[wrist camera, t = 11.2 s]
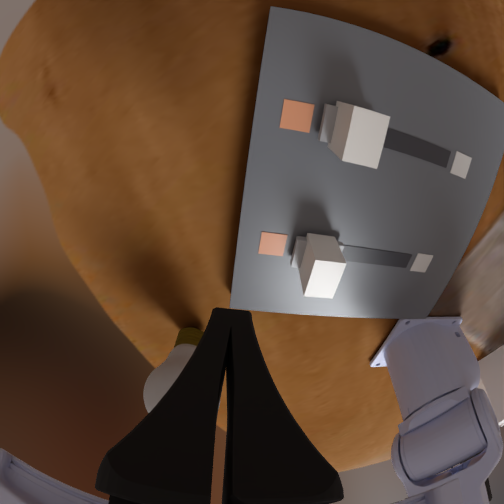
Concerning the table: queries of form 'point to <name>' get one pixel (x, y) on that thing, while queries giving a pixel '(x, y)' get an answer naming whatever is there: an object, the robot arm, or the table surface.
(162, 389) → the light bulb
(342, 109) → the breaker
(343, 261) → the breaker on
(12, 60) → the table surface
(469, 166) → the panel
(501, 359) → the white chamfered block
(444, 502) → the robot arm
